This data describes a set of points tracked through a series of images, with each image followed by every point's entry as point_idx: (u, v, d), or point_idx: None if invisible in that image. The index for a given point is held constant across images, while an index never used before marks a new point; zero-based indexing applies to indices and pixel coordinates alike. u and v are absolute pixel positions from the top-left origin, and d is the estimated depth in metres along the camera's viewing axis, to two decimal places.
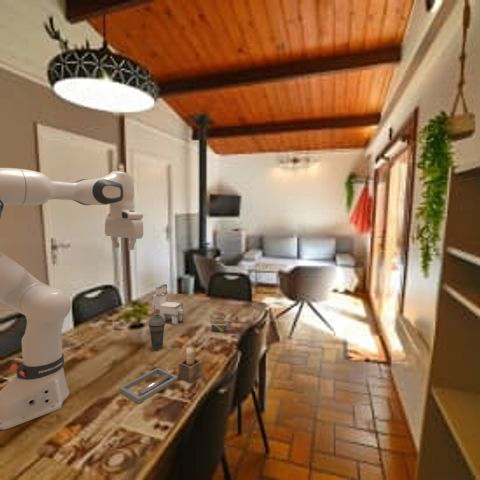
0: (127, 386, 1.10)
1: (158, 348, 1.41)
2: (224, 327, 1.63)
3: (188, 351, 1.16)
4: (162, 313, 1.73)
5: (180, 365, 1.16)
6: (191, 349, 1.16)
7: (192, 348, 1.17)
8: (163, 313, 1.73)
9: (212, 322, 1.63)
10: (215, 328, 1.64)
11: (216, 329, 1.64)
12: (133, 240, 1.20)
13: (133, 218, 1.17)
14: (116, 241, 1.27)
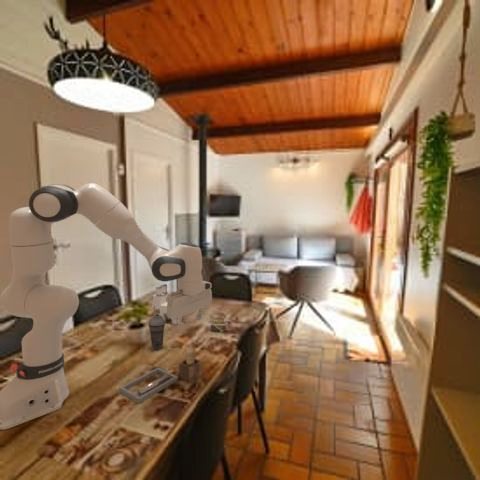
0: (127, 386, 1.10)
1: (158, 348, 1.41)
2: (223, 327, 1.63)
3: (188, 351, 1.16)
4: (162, 313, 1.73)
5: (180, 365, 1.16)
6: (191, 349, 1.16)
7: (192, 348, 1.17)
8: (163, 313, 1.73)
9: (211, 322, 1.63)
10: (214, 328, 1.64)
11: (215, 329, 1.64)
12: None
13: None
14: None
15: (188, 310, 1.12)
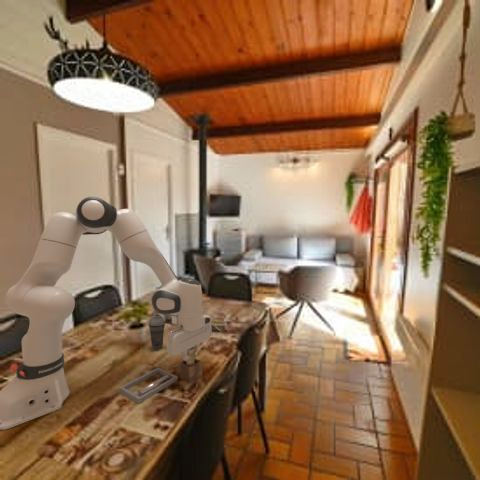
0: (127, 386, 1.10)
1: (158, 348, 1.41)
2: (222, 327, 1.63)
3: (188, 351, 1.16)
4: None
5: (180, 365, 1.16)
6: (191, 349, 1.16)
7: (192, 348, 1.17)
8: None
9: (210, 322, 1.63)
10: (213, 328, 1.64)
11: (214, 329, 1.64)
12: None
13: None
14: None
15: (188, 345, 1.13)
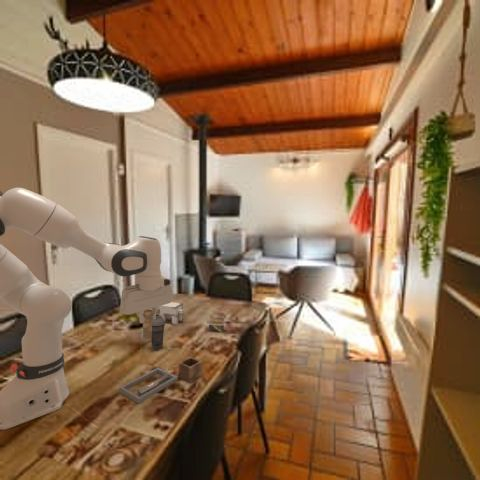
0: (127, 386, 1.10)
1: (158, 348, 1.41)
2: (221, 327, 1.64)
3: (145, 313, 1.10)
4: (162, 313, 1.73)
5: (180, 365, 1.16)
6: (148, 311, 1.10)
7: (150, 311, 1.11)
8: (163, 313, 1.73)
9: (209, 322, 1.63)
10: (212, 328, 1.64)
11: (213, 329, 1.64)
12: None
13: None
14: None
15: (144, 306, 1.07)
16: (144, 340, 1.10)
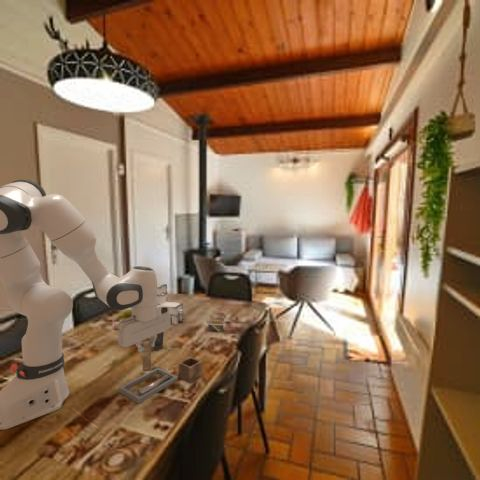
0: (127, 386, 1.10)
1: (158, 348, 1.41)
2: (221, 327, 1.64)
3: (143, 342, 1.10)
4: None
5: (180, 365, 1.16)
6: (147, 340, 1.11)
7: (148, 339, 1.12)
8: None
9: (209, 322, 1.63)
10: (212, 328, 1.64)
11: (213, 329, 1.64)
12: None
13: None
14: None
15: (142, 336, 1.08)
16: (144, 368, 1.11)
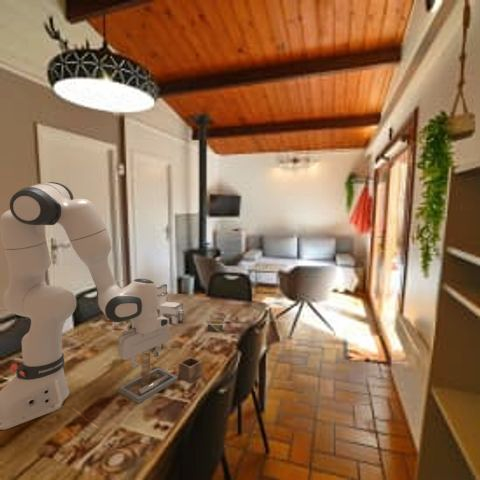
0: (127, 386, 1.10)
1: None
2: (220, 327, 1.64)
3: (143, 358, 1.11)
4: (162, 313, 1.73)
5: (180, 365, 1.16)
6: (146, 356, 1.11)
7: (147, 355, 1.12)
8: (163, 313, 1.73)
9: (208, 322, 1.63)
10: (211, 328, 1.64)
11: (212, 329, 1.64)
12: None
13: None
14: None
15: (142, 349, 1.08)
16: (143, 384, 1.12)
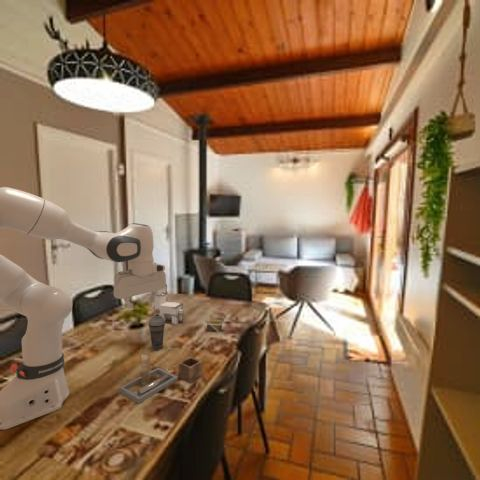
0: (127, 386, 1.10)
1: (158, 348, 1.41)
2: (219, 327, 1.64)
3: (142, 358, 1.11)
4: (162, 313, 1.73)
5: (180, 365, 1.16)
6: (146, 356, 1.11)
7: (147, 355, 1.12)
8: (163, 313, 1.73)
9: (207, 322, 1.63)
10: (210, 328, 1.64)
11: (211, 329, 1.64)
12: None
13: None
14: None
15: (137, 291, 1.11)
16: (143, 384, 1.12)
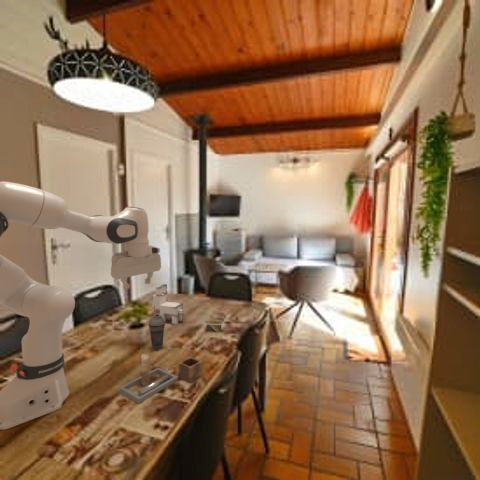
0: (127, 386, 1.10)
1: (158, 348, 1.41)
2: (219, 327, 1.64)
3: (143, 358, 1.11)
4: (162, 313, 1.73)
5: (180, 365, 1.16)
6: (146, 356, 1.11)
7: (147, 354, 1.12)
8: (163, 313, 1.73)
9: (207, 322, 1.64)
10: (210, 328, 1.64)
11: (211, 329, 1.64)
12: None
13: None
14: None
15: (133, 272, 1.16)
16: (143, 384, 1.12)
